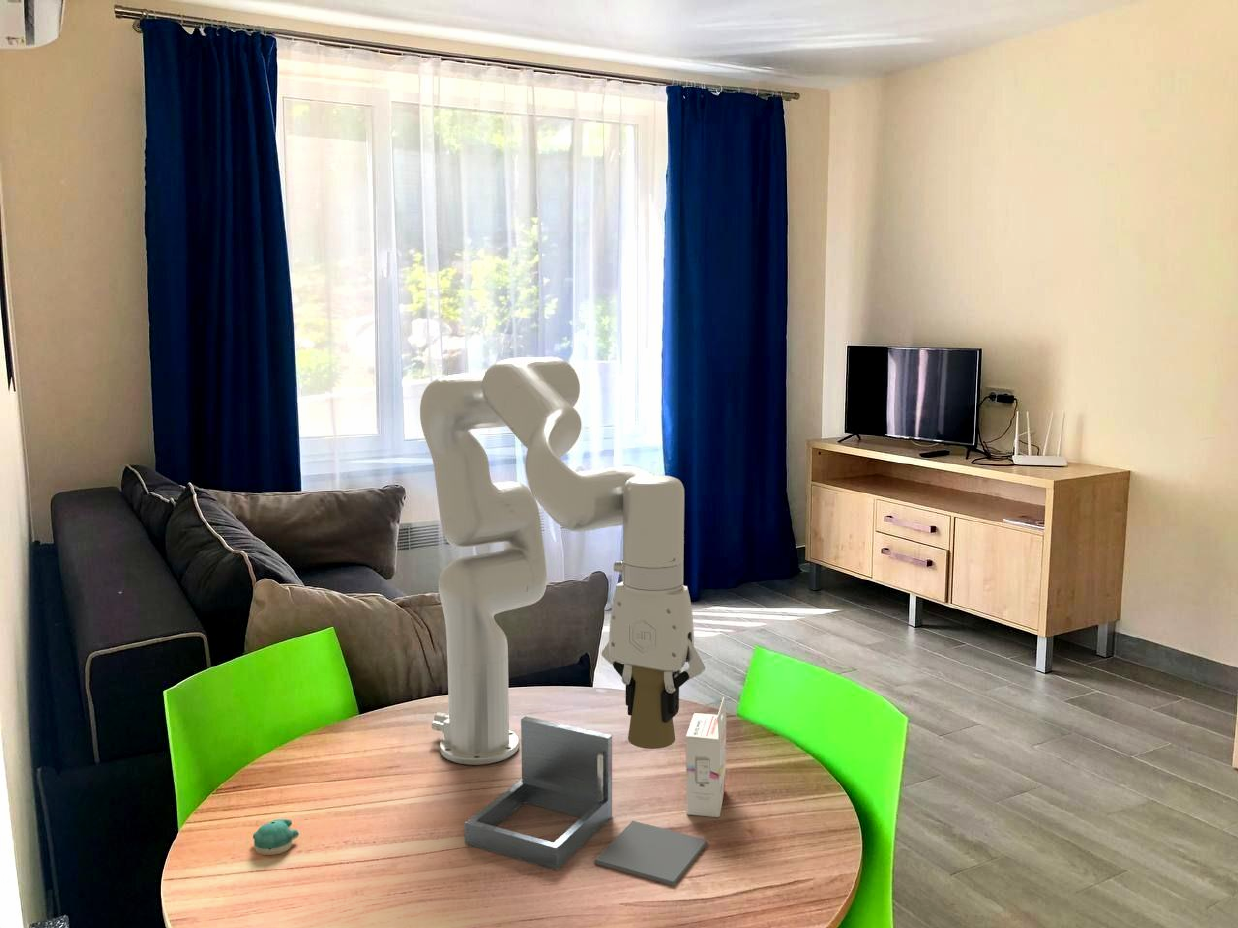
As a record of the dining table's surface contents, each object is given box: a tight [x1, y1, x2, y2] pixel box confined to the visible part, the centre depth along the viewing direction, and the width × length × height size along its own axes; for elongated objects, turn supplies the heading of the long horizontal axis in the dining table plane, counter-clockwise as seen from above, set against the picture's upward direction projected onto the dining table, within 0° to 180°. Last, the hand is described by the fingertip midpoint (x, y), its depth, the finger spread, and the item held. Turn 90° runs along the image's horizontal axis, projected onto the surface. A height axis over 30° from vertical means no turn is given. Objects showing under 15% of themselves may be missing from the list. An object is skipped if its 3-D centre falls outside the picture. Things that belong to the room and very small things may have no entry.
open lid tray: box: [464, 716, 613, 871], centre depth 135 cm, size 14×15×12 cm
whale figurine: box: [252, 818, 300, 856], centre depth 133 cm, size 6×7×4 cm
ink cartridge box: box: [685, 696, 727, 818], centre depth 143 cm, size 9×5×15 cm, turn 168°
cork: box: [627, 666, 676, 750], centre depth 127 cm, size 6×6×11 cm
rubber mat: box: [594, 820, 708, 887], centre depth 130 cm, size 11×11×1 cm
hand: (651, 713), depth 127 cm, fingers closed on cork, 4 cm apart
